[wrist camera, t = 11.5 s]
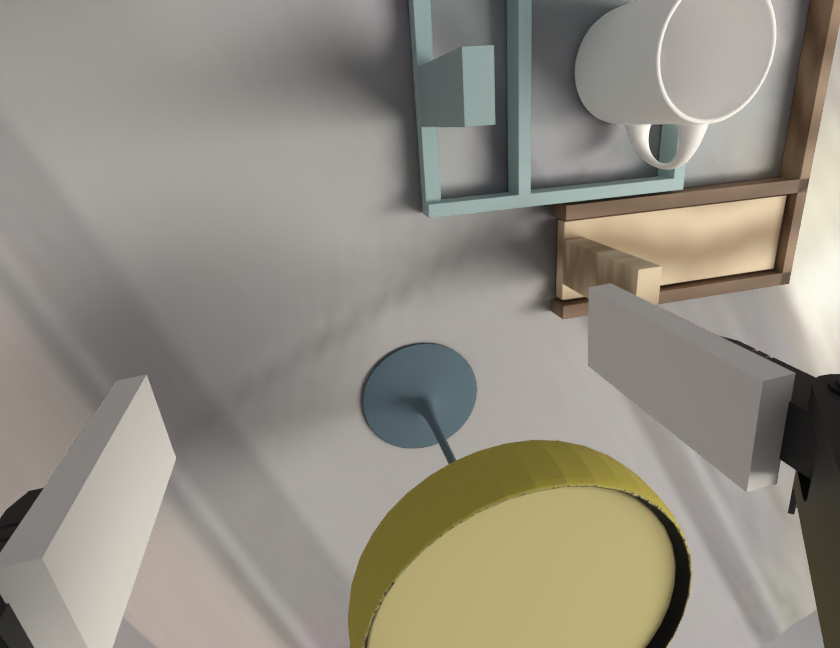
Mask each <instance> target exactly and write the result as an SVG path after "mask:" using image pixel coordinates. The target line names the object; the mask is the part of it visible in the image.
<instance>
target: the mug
mask: <svg viewBox="0 0 840 648" xmlns="http://www.w3.org/2000/svg"><path fill="white" fill-rule="evenodd" d="M775 43H776V20H775V15H774V10H773V7H772V4H771V1H770V0H635V1H632V2H630V3H627V4H624V5H622V6H619V7H617V8H615V9H613V10H611V11H609V12H607V13H606V14H604V15H603V16H602V17H601V18H599V19H598V20H597V21H596V22H595V23H594V24H593V25H592V26H591V28H590V29H589V30H588V32H587V33H586V35H585V37H584V38H583V40H582V42H581V45H580V47H579V50H578V53H577V57H576V62H575V83H576V88H577V92H578V94H579V97H580V99H581V101H582V103H583V105H584V106H585V107H586V109H587V110H588V111H589V112H590V113H591V114H592V115H593V116H595V117H596V118H598V119H600V120H602V121H605V122H608V123H612V124H620V125H625V127H626V130H627V134H628V137H629V140H630V142H631V144H632V146H633V148H634V150H635V151H636V153H637V154H638V155H639V156H640V157H641V158H642V159H643V160H644V161H645V162H647V163H648V164H650V165H652V166H654V167H657V168H660V169H668V170H670V169H675V168H677V167H680V166H682V165H683V164H684V163H686V162H687V161H688V160H689V159H690V158H691V157H692V156H693V154H694V153H695V151H696V149H697V148H698V146H699V144H700V142H701V140H702V138H703V136H704V134H705V131H706V129H707V127H708V124H711V123H716V122H719V121H722V120H724V119H726V118H729V117H730V116H732V115H734V114H735V113H737V112H738V111H739V110H741V109H742V108H743V107H744V106H745V105H746V104H747V103H748V102H749V101H750V100H751V99H752V98H753V96H754V95H755V94H756V93H757V91H758V90H759V88H760V86H761V85H762V83H763V81H764V79H765V77H766V75H767V73H768V71H769V68H770V65H771V62H772V59H773V55H774V50H775ZM652 124H676V125H677V126H678V134H679V143H678V150H677V153H676V156H675V158H674V159H673V160H672V161H671V162H669V163H660V162H658V161H657V160H656V159H655V158H654V157H653V155H652V154H651V151H650V148H649V142H648V137H649V130H650V127H651V125H652Z"/></svg>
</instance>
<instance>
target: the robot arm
mask: <svg viewBox="0 0 840 648" xmlns="http://www.w3.org/2000/svg"><path fill="white" fill-rule="evenodd" d="M588 366H589V367H590V368H592V369H593V370H594V371H595V372H597V373H598V374H599V375H600V376H602V377H603V378H604V379H605V380H607V381H608V382H609V383H610V384H612V385H613V386H614V387H615V388H617V389H618V390H619V391H620V392H622V393H623V394H624V395H625V396H627V397H628V398H629V399H630V400H632V401H633V402H634V403H635V404H637V405H638V406H639V407H640V408H642V409H643V410H644V411H645V412H647V413H648V414H649V415H650V416H652V417H653V418H654V419H655V420H657V421H658V422H659V423H660V424H662V425H663V426H664V427H665V428H667V429H668V430H669V431H670V432H672V433H673V434H674V435H676V436H677V437H678V438H679V439H681V440H682V441H683V442H684V443H686V444H687V445H688V446H689V447H691V448H692V449H693V450H694V451H696V452H697V453H698V454H699V455H701V456H702V457H703V458H704V459H706V460H707V461H708V462H709V463H711V464H712V465H713V466H714V467H716V468H717V469H718V470H719V471H721V472H722V473H723V474H724V475H726V476H727V477H728V478H729V479H731V480H732V481H733V482H734V483H736V484H737V485H738V486H739V487H741V488H742V489H743V490H744V491H746V492H750V491H753V490H757V489H760V488H764V487H767V486H770V485H774V484H777V478H778V473H779V467H780V461H781V460H782V461H783V462H785V463H786V464H788V465H789V466H791V467H792V468H794V469H795V470H796V473H795V478H794V483H793V489H792V494H791V499H790V505H789V510H788V513H790V514H794V513H795V509H796V508H798V513H799V518H800V523H801V528H802V534H803V539H804V544H805V549H806V554H807V559H808V565H809V570H810V575H811V580H812V585H813V591H814V596H815V601H816V606H817V611H818V616H819V622H820V626H821V632H822V637H823V642H824V647H825V648H840V374H828V375H822V376H819V377H817V378H815V377H813V376H811V375H809V374H807V373H805V372H803V371H801V370H798V369H796V368H794V367H792V366H790V365H788V364H786V363H784V362H782V361H780V360H777V359H775V358H770V356H769V355H767V354H765V353H763V352H761V351H756V349H754V348H752V347H750V346H748V345H746V344H744V343H742V342H740V341H737V340H733V339H729V338H725V337H722V336H718V335H716V334H714V333H712V332H710V331H708V330H706V329H704V328H702V327H700V326H698V325H696V324H694V323H692V322H689V321H687V320H685V319H683V318H681V317H679V316H677V315H675V314H673V313H671V312H669V311H667V310H665V309H663V308H661V307H659V306H657V305H654V304H652V303H650V302H648V301H646V300H644V299H642V298H640V297H638V296H636V295H634V294H632V293H630V292H628V291H626V290H624V289H622V288H620V287H617V286H615V285H613V284H611V283H609V284H604V285H599V286H594V287H589V301H588ZM175 460H176V457H175V454H174V451H173V448H172V445H171V442H170V440H169V437H168V434H167V431H166V428H165V425H164V423H163V420H162V417H161V414H160V411H159V408H158V406H157V403H156V400H155V397H154V394H153V391H152V388H151V386H150V383H149V380H148V377H147V375H142V376H137V377H132V378H127V379H122V380H117V381H116V382H115V383H114V385H113V386H112V388H111V389H110V391H109V392H108V394H107V395H106V397H105V398H104V400H103V401H102V403H101V404H100V406H99V407H98V409H97V410H96V412H95V413H94V415H93V416H92V418H91V419H90V420H89V422H88V423H87V425H86V426H85V428H84V429H83V431H82V432H81V434H80V435H79V437H78V438H77V440H76V441H75V443H74V444H73V446H72V447H71V449H70V450H69V452H68V453H67V455H66V456H65V458H64V459H63V460H62V462H61V463H60V465H59V466H58V468H57V469H56V471H55V472H54V474H53V475H52V477H51V478H50V480H49V481H48V483H47V484H46V486H45V487H44V488H41V489H36V490H32V491H29V492H27V493H26V494H25V495H24V496H23V497H21V498H20V499H19V500H18V501H16V502H15V503H14V504H13V505H12V506H10V507H9V508H8V509H7V510H6V511H5V512H4V514H3V515H2V516H1V518H0V648H112V647H113V644H114V641H115V638H116V635H117V632H118V629H119V626H120V624H121V621H122V618H123V615H124V612H125V609H126V606H127V603H128V600H129V597H130V594H131V591H132V588H133V585H134V582H135V579H136V576H137V573H138V570H139V567H140V564H141V561H142V558H143V555H144V552H145V549H146V546H147V543H148V540H149V537H150V535H151V532H152V529H153V526H154V523H155V520H156V517H157V514H158V511H159V508H160V505H161V502H162V499H163V496H164V493H165V490H166V487H167V484H168V481H169V478H170V475H171V472H172V469H173V466H174V463H175Z"/></svg>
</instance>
